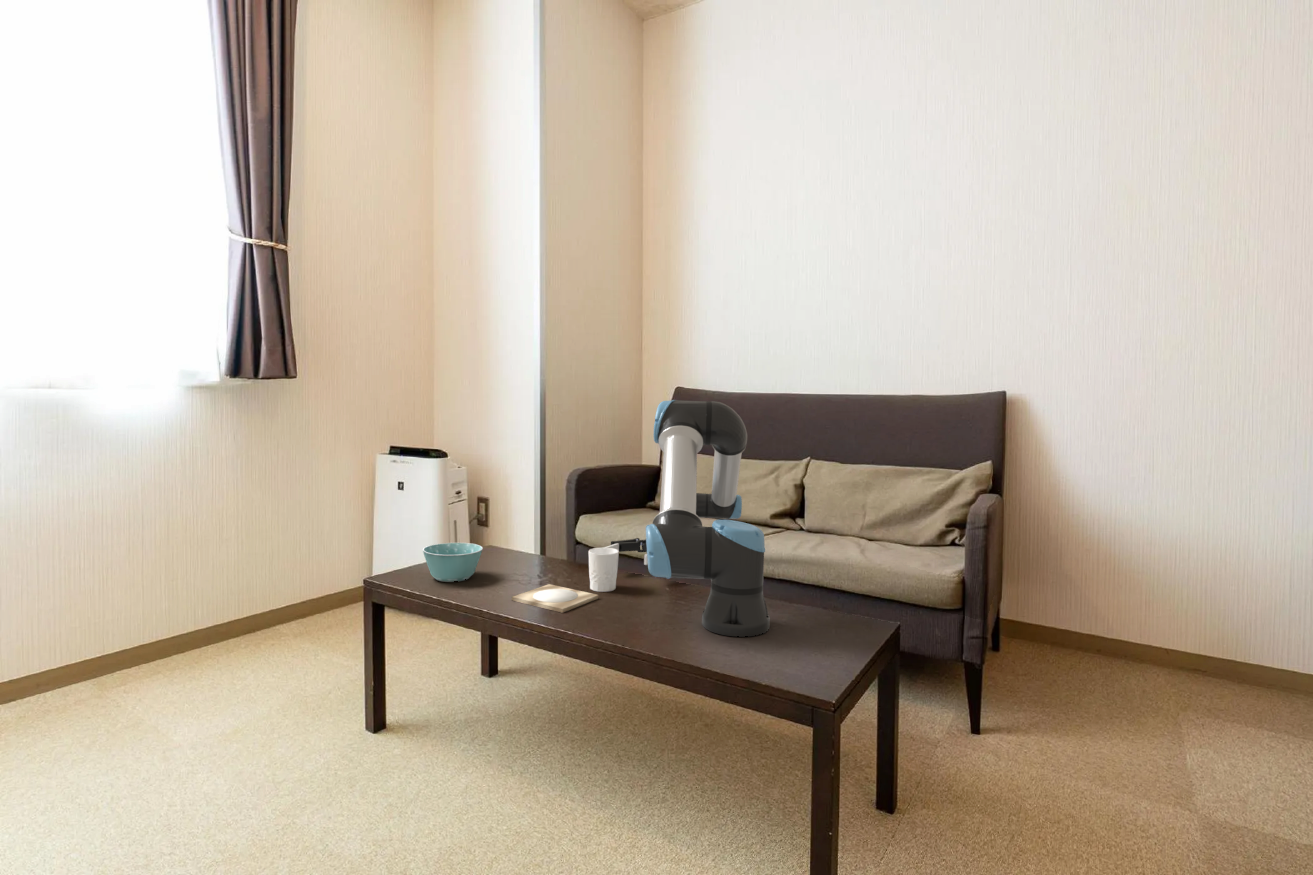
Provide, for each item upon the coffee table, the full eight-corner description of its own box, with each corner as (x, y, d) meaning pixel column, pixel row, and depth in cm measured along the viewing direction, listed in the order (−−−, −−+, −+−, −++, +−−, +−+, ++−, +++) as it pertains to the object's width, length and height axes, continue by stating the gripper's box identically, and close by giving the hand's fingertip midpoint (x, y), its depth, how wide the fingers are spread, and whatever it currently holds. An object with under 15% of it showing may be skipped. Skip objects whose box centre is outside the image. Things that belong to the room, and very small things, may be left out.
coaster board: (598, 598, 178) (598, 594, 178) (562, 612, 166) (562, 608, 166) (549, 587, 186) (549, 583, 186) (511, 600, 174) (511, 596, 174)
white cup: (619, 585, 190) (620, 548, 190) (615, 593, 182) (616, 555, 182) (590, 583, 191) (591, 546, 190) (585, 591, 183) (585, 553, 183)
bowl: (450, 567, 204) (450, 539, 203) (494, 575, 197) (494, 545, 196) (409, 580, 190) (409, 550, 189) (455, 589, 183) (455, 557, 182)
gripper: (701, 561, 206) (663, 577, 188) (629, 548, 220) (587, 562, 202) (701, 535, 206) (663, 549, 188) (630, 524, 219) (588, 536, 201)
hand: (624, 556), depth 195 cm, fingers open, 13 cm apart
